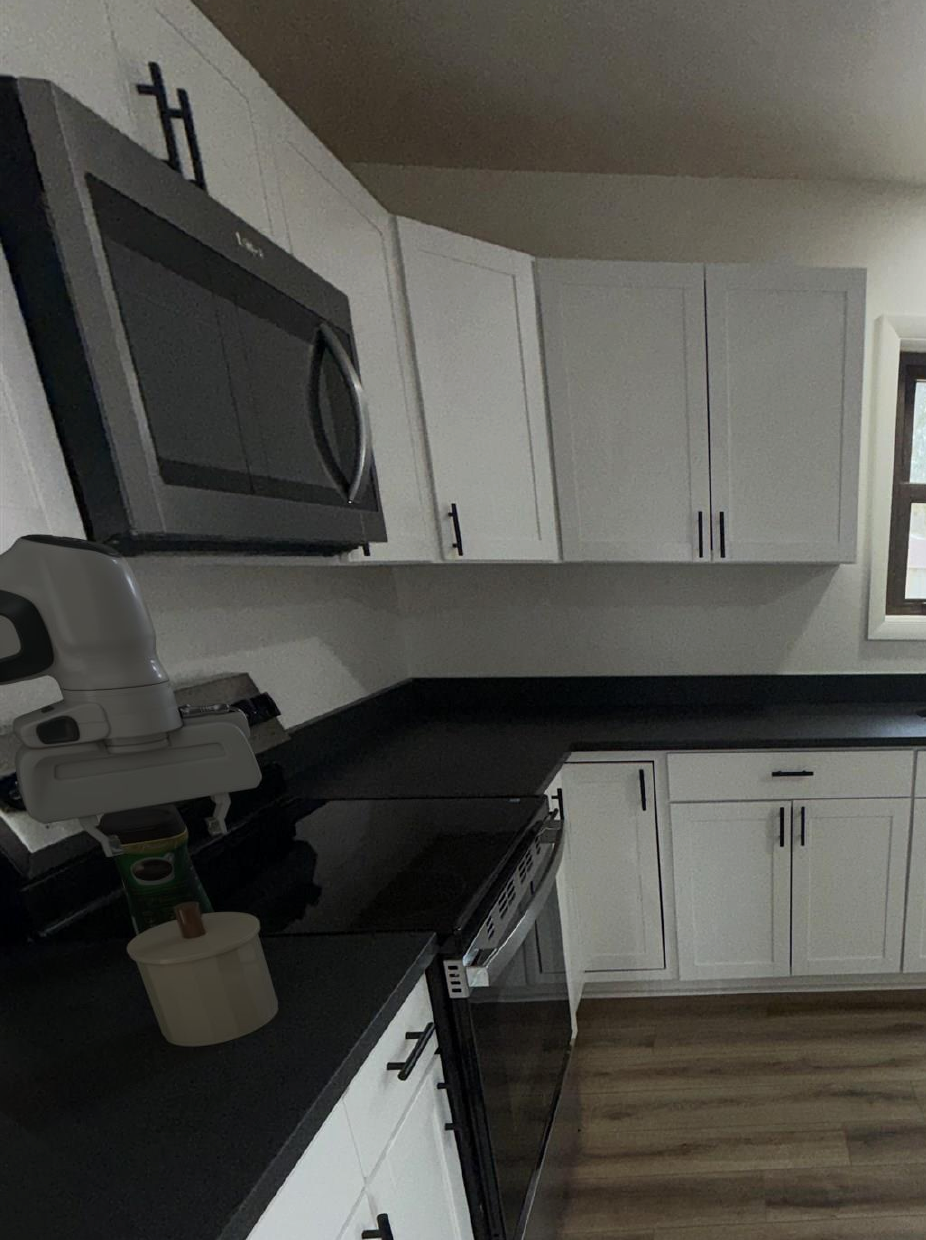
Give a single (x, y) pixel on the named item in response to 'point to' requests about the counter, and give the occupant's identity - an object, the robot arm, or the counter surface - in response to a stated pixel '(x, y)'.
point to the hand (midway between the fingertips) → (168, 844)
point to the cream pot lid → (193, 936)
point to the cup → (212, 996)
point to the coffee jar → (154, 864)
